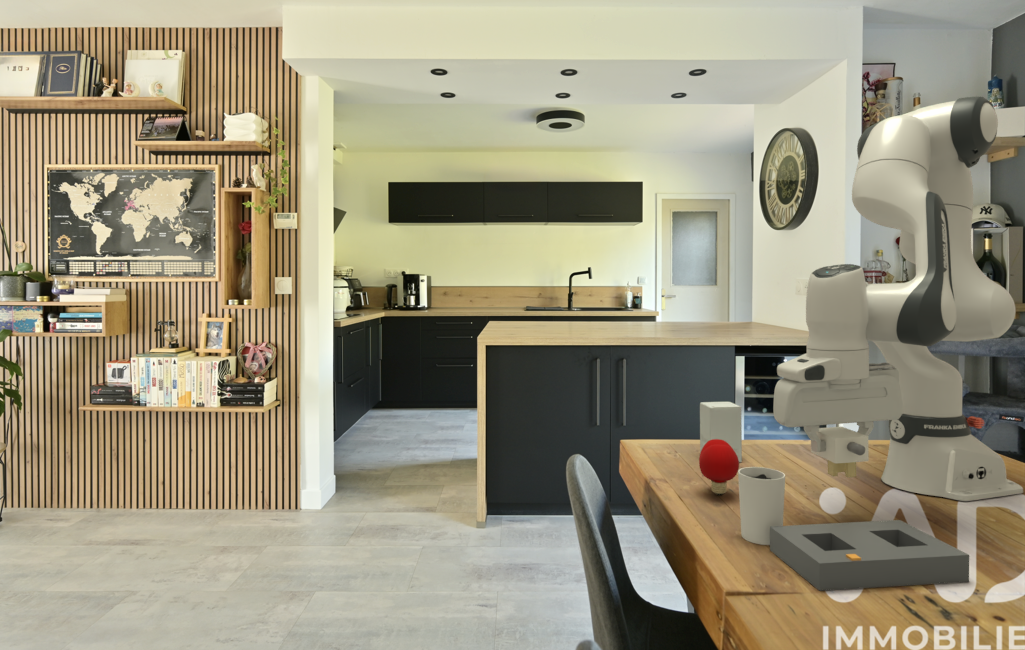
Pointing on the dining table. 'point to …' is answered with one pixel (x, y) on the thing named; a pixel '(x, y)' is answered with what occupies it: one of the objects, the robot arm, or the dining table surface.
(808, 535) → the double socket
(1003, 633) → the dining table surface
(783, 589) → the dining table surface
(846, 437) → the plug
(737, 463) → the red rounded egg-shaped part
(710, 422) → the supplement box
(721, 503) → the dining table surface
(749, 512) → the beige cup
